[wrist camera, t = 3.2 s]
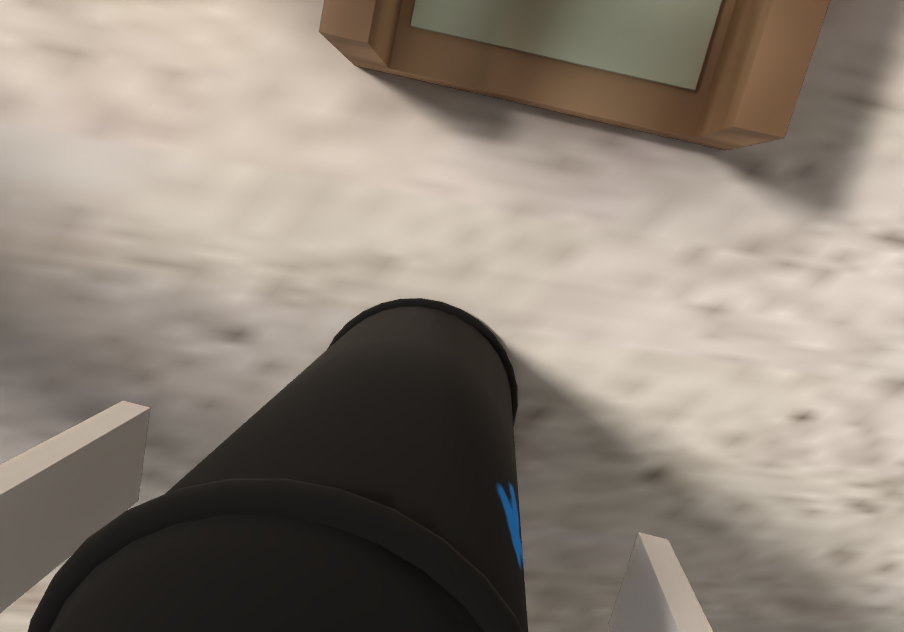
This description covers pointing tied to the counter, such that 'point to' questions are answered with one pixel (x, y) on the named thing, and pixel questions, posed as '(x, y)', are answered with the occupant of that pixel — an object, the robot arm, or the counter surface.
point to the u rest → (601, 57)
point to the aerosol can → (332, 502)
